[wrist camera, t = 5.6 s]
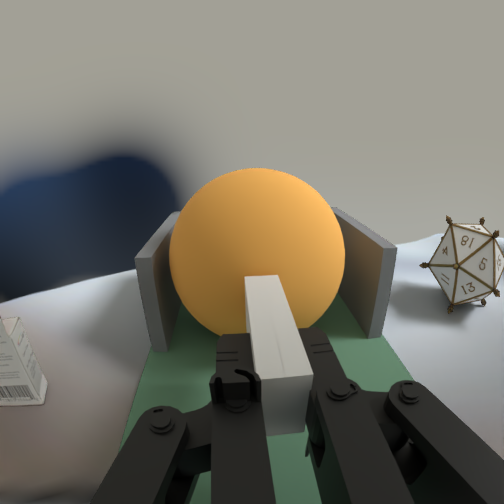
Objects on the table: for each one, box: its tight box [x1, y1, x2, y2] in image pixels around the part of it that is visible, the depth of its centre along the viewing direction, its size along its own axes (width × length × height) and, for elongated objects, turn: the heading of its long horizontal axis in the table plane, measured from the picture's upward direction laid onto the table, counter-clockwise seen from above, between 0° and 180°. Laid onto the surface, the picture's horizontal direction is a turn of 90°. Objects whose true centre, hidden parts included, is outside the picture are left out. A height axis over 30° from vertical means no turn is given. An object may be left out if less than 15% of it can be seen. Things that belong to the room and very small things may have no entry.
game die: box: [419, 216, 504, 314], centre depth 22 cm, size 9×8×10 cm
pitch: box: [118, 207, 414, 504], centre depth 17 cm, size 16×27×7 cm, turn 4°
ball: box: [169, 168, 345, 336], centre depth 19 cm, size 11×11×11 cm
